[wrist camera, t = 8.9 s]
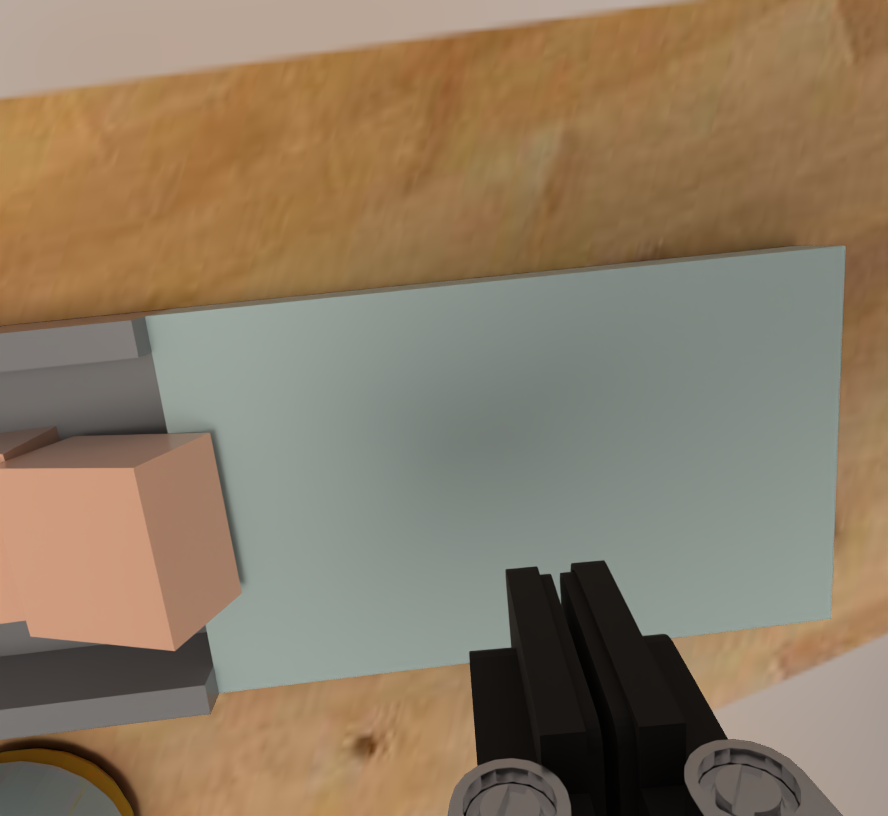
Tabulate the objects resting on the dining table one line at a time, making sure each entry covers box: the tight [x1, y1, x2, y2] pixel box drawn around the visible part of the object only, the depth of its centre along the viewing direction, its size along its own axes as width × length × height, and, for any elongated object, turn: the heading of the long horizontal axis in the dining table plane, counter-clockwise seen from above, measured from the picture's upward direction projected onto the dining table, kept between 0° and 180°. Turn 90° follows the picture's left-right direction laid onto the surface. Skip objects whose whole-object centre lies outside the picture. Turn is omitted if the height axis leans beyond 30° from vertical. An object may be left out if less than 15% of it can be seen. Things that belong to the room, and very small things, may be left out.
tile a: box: [0, 433, 242, 651], centre depth 19 cm, size 5×5×3 cm
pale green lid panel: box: [145, 246, 846, 693], centre depth 22 cm, size 20×12×2 cm, turn 96°
